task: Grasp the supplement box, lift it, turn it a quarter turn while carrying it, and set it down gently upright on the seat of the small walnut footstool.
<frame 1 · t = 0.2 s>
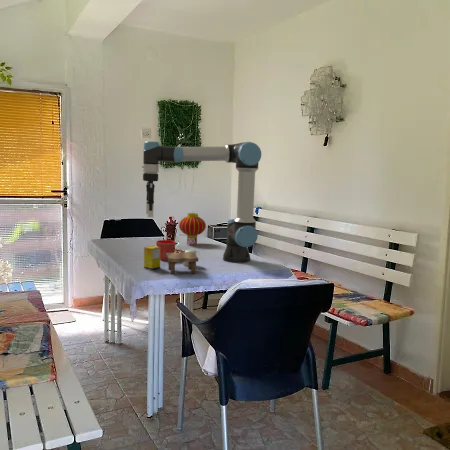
hand: (149, 215, 243), 26 cm above the table, fingers open, 13 cm apart
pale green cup: (190, 265, 252), on the table
flower pot: (165, 259, 267), on the table
supplement box: (151, 268, 244), on the table
footstool: (181, 271, 239), on the table
lantern: (191, 244, 313), on the table
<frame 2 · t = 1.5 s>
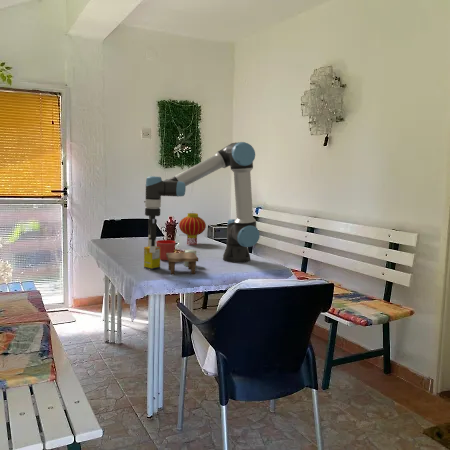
hand: (151, 249, 242), 9 cm above the table, fingers open, 13 cm apart
nothing on the table moved.
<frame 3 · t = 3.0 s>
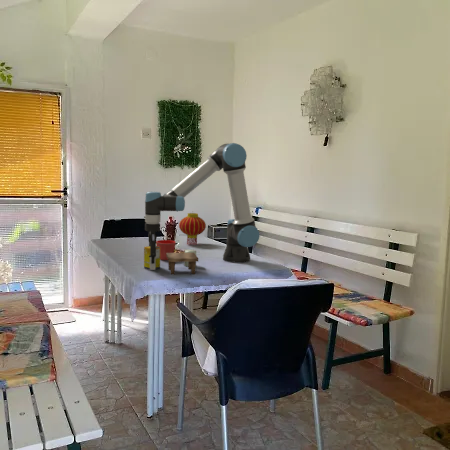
hand: (151, 267, 244), 0 cm above the table, fingers closed on supplement box, 8 cm apart
supplement box: (151, 268, 244), on the table, touching gripper
everything else where it was.
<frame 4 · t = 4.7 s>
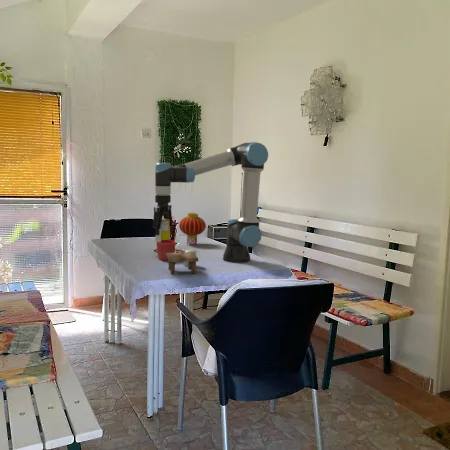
hand: (162, 240, 240), 15 cm above the table, fingers closed on supplement box, 8 cm apart
supplement box: (162, 241, 241), point 14 cm above the table, touching gripper
everything else where it was.
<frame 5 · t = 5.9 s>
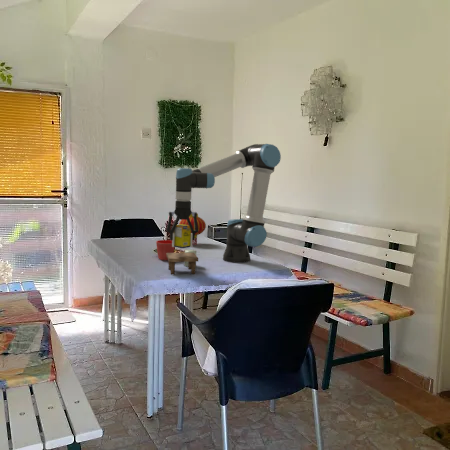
hand: (182, 246, 237), 13 cm above the table, fingers closed on supplement box, 8 cm apart
supplement box: (182, 247, 237), point 12 cm above the table, touching gripper
everything else where it was.
when the fingers open (10 cm above the table, at t = 6.7 s): supplement box drops 1 cm, resting on footstool.
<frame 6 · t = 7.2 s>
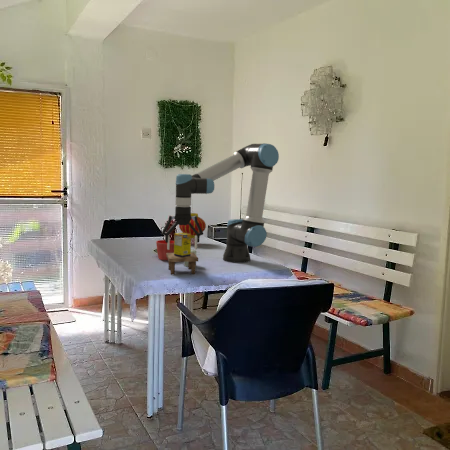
hand: (182, 249, 238), 11 cm above the table, fingers open, 13 cm apart
supplement box: (182, 255, 238), point 8 cm above the table, touching footstool
everything else where it was.
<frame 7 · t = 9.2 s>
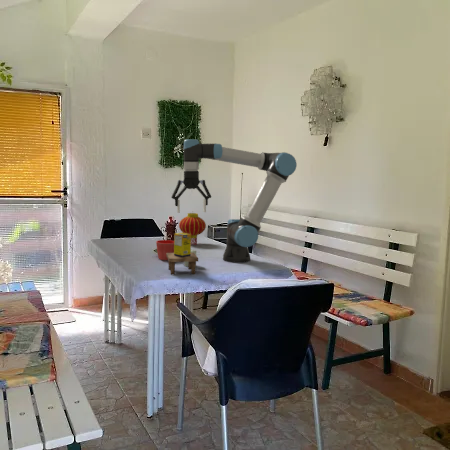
hand: (191, 212, 247), 28 cm above the table, fingers open, 13 cm apart
nothing on the table moved.
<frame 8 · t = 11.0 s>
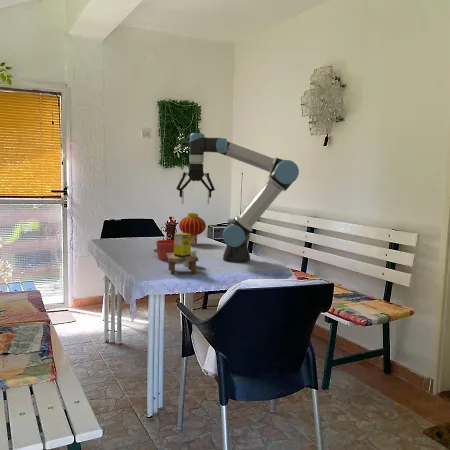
hand: (195, 203, 256), 32 cm above the table, fingers open, 13 cm apart
nothing on the table moved.
at the end: supplement box inside the target area on the footstool (0.1 cm from its centre), point 7.8 cm above the footstool's base; supplement box tilted 0°; the gripper is holding nothing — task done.
